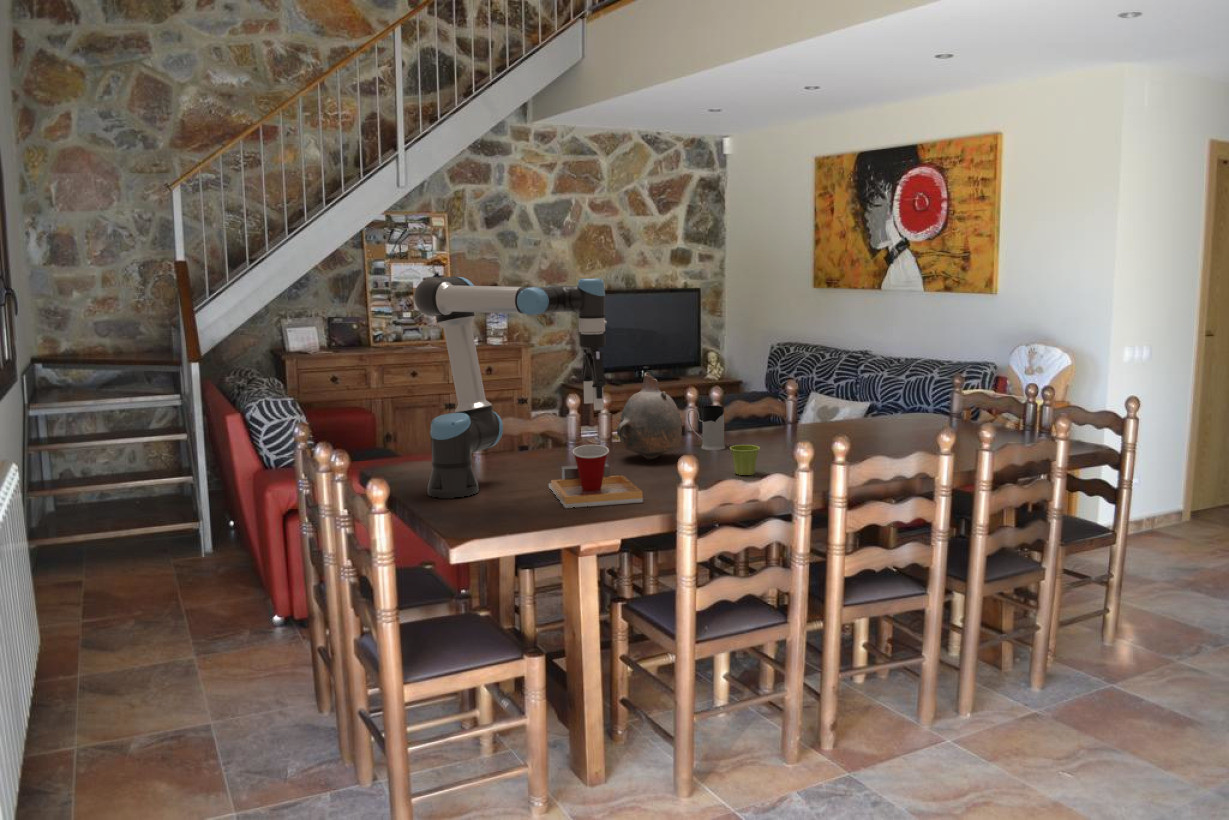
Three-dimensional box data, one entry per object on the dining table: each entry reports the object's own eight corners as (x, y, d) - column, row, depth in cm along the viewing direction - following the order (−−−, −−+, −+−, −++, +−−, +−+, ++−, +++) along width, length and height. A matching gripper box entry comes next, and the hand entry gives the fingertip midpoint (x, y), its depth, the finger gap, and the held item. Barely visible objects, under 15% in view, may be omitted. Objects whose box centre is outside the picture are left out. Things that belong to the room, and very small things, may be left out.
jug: (663, 468, 331) (662, 378, 327) (606, 463, 342) (605, 375, 337) (694, 455, 352) (693, 370, 348) (640, 450, 363) (638, 367, 358)
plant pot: (758, 477, 316) (758, 450, 315) (728, 477, 318) (728, 450, 316) (760, 471, 325) (760, 445, 324) (731, 470, 327) (731, 444, 326)
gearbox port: (565, 508, 282) (564, 486, 281) (548, 487, 308) (548, 467, 307) (642, 502, 287) (642, 481, 286) (619, 482, 313) (619, 462, 312)
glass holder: (720, 450, 360) (720, 409, 358) (683, 448, 366) (683, 407, 364) (728, 446, 368) (728, 405, 366) (692, 444, 374) (691, 404, 372)
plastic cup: (569, 493, 295) (568, 453, 292) (577, 482, 305) (576, 443, 303) (605, 494, 293) (605, 455, 290) (612, 483, 303) (612, 445, 300)
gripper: (615, 335, 277) (616, 412, 280) (595, 329, 301) (596, 400, 304) (588, 336, 275) (590, 413, 278) (571, 330, 299) (572, 401, 302)
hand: (593, 406), depth 291 cm, fingers open, 13 cm apart
